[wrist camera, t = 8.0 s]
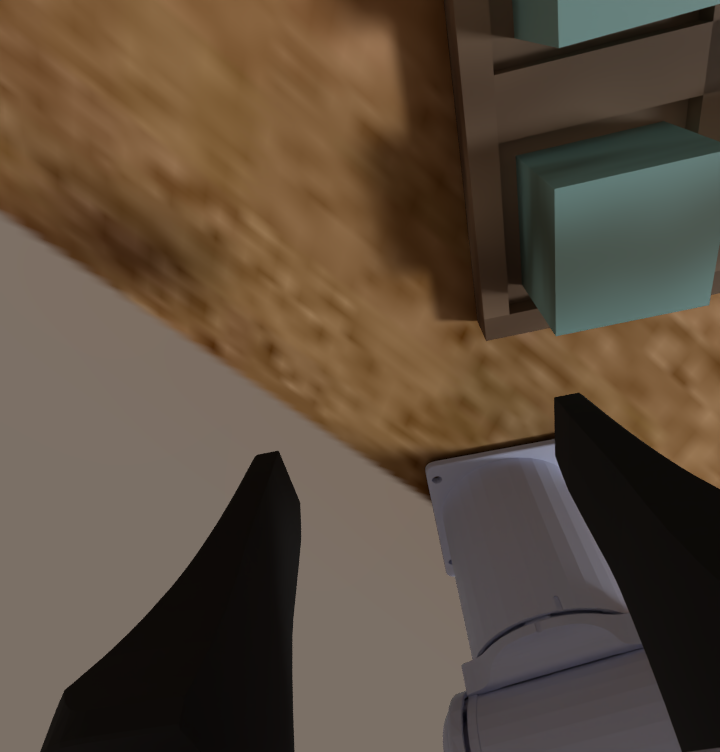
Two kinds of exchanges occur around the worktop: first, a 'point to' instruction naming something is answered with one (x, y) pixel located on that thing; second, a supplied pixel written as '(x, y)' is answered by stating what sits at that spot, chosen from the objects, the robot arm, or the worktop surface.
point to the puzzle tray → (557, 112)
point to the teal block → (590, 17)
